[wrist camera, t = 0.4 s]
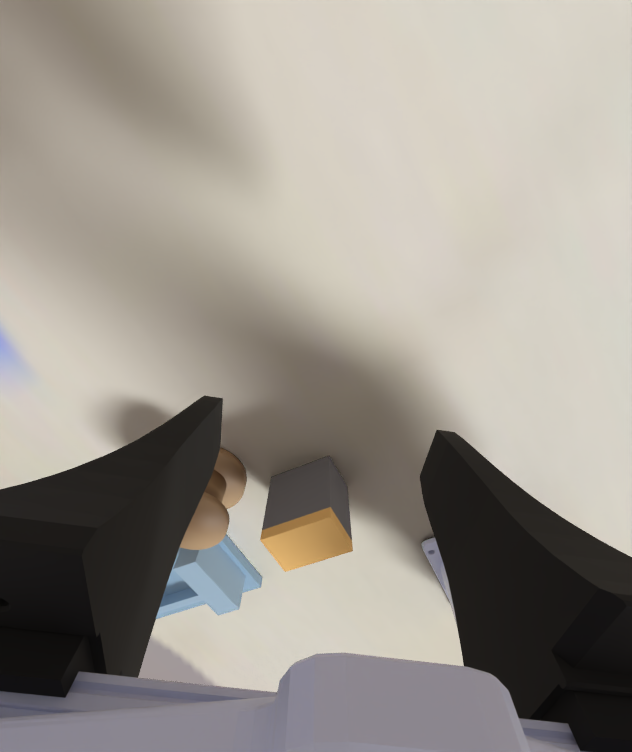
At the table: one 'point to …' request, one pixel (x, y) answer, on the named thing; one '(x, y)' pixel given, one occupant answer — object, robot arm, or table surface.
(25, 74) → the table surface
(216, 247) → the table surface
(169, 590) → the blue square socket
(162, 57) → the table surface
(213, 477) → the bobbin
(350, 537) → the orange and grey block
